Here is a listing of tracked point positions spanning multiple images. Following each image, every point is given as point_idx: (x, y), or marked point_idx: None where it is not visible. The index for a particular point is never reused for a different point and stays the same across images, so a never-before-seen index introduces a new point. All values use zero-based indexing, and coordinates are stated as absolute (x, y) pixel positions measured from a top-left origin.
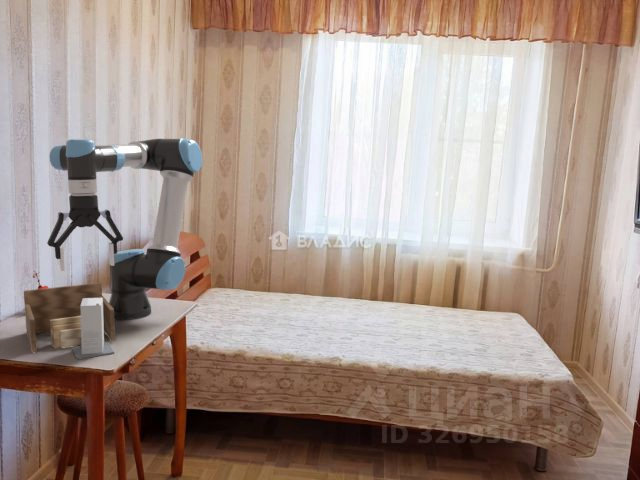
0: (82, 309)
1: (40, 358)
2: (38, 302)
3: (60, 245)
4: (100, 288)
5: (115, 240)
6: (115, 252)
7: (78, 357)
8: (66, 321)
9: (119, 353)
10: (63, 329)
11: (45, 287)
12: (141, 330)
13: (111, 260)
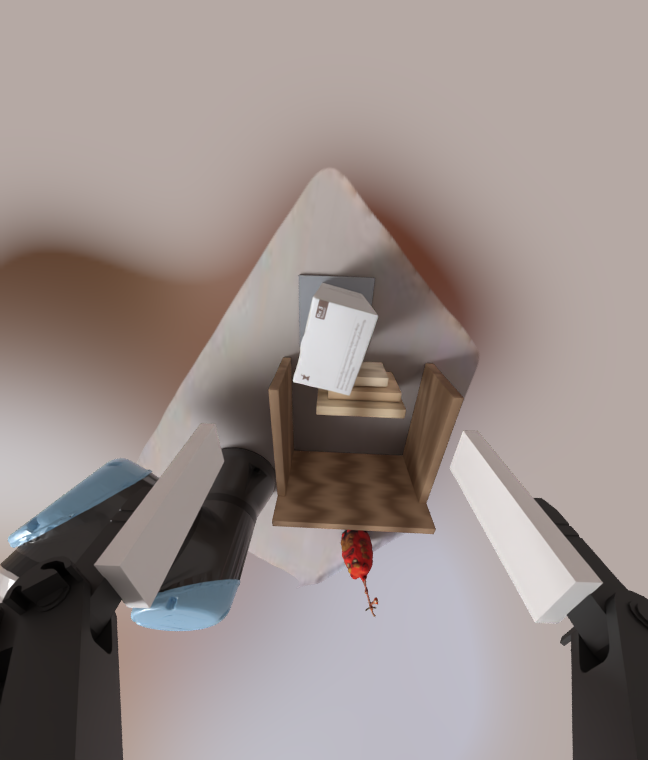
0: (371, 311)
1: (431, 325)
2: (400, 501)
3: (624, 622)
4: (277, 509)
5: (35, 607)
6: (144, 494)
7: (372, 279)
8: (371, 404)
9: (288, 270)
10: (379, 388)
11: (355, 574)
12: (229, 387)
13: (200, 445)
